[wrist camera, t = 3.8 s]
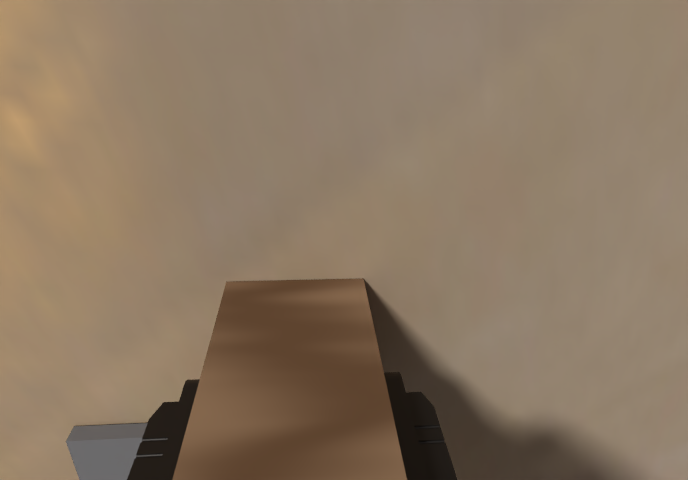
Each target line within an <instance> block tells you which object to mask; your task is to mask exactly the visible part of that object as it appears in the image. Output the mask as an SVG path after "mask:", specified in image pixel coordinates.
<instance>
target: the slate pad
mask: <svg viewBox="0 0 688 480" xmlns="http://www.w3.org/2000/svg"><path fill="white" fill-rule="evenodd" d="M147 424H148V423H137V424H115V425H93V426H74V427H73V429H72V431H71V433H70V435H69V437H68V438H67V440H66V443H67V446H68V449H69V451H70V454H71V457H72V460H73V463H74V465H75V468H76V471H77V474H78V477H79V480H127V478H128V475H129V473H130V470H131V467H132V464H133V462H134V459H136V454H137V451H138V448H139V445H140V443H141V442H142V437H143V435H144V432H145V429H146V426H147Z"/></svg>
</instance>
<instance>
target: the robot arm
mask: <svg viewBox="0 0 688 480" xmlns="http://www.w3.org/2000/svg"><path fill="white" fill-rule="evenodd" d="M384 376H385V380H386V385H387V389H388V394H389V399H390V403H391V408H392V413H393V417H394V422H395V427H396V431H397V436H398V440H399V445H400V450H401V454H402V459H403V464H404V468H405V473H406V477H407V480H457V477H456V474H455V471H454V468H453V465H452V462H451V459H450V456H449V453H448V449H447V446H446V443H445V442H444V437H443V434H442V431H441V428H440V425H439V421H438V418H437V415H436V412H435V409H434V407H433V405H432V404H431V403H430V402H429V401H428V400H427V398H426V397H425V396H424V395H423V394H422V393H421V392H410V393H406V392H405V388H404V385H403V381H402V377H401V374H400V373H399V372H391V373H384ZM199 381H200V379H199V380H187V381H186V382H185V384H184V387H183V391H182V394H181V397H180V400H179V402H164V403H163V404H162V405H161V406H160V407H159V408H158V410H157V411H156V412H155V413H154V414H153V415H152V417H151V418H150V419H149V421H148V424H147V426H146V429H145V432H144V435H143V437H142V442H141V443H140V445H139V448H138V451H137V454H136V459H134V462H133V464H132V467H131V470H130V473H129V475H128V478H127V480H172V479H173V476H174V472H175V468H176V465H177V461H178V457H179V454H180V450H181V446H182V443H183V439H184V435H185V432H186V428H187V425H188V421H189V417H190V414H191V410H192V406H193V403H194V399H195V395H196V392H197V388H198V384H199Z"/></svg>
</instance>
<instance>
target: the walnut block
mask: <svg viewBox="0 0 688 480" xmlns="http://www.w3.org/2000/svg"><path fill="white" fill-rule="evenodd" d="M172 480H407V477H406V473H405V468H404V464H403V459H402V454H401V450H400V445H399V440H398V436H397V431H396V427H395V422H394V417H393V413H392V408H391V403H390V399H389V394H388V389H387V385H386V380H385V376H384V371H383V366H382V362H381V357H380V352H379V348H378V343H377V339H376V334H375V329H374V325H373V320H372V315H371V311H370V306H369V302H368V297H367V292H366V288H365V283H364V279H326V280H281V281H236V282H226V286H225V289H224V293H223V297H222V300H221V304H220V308H219V311H218V315H217V318H216V322H215V326H214V329H213V333H212V337H211V340H210V344H209V348H208V351H207V355H206V359H205V362H204V366H203V370H202V373H201V377H200V381H199V384H198V388H197V392H196V395H195V399H194V403H193V406H192V410H191V414H190V417H189V421H188V425H187V428H186V432H185V435H184V439H183V443H182V446H181V450H180V454H179V457H178V461H177V465H176V468H175V472H174V476H173V479H172Z"/></svg>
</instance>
